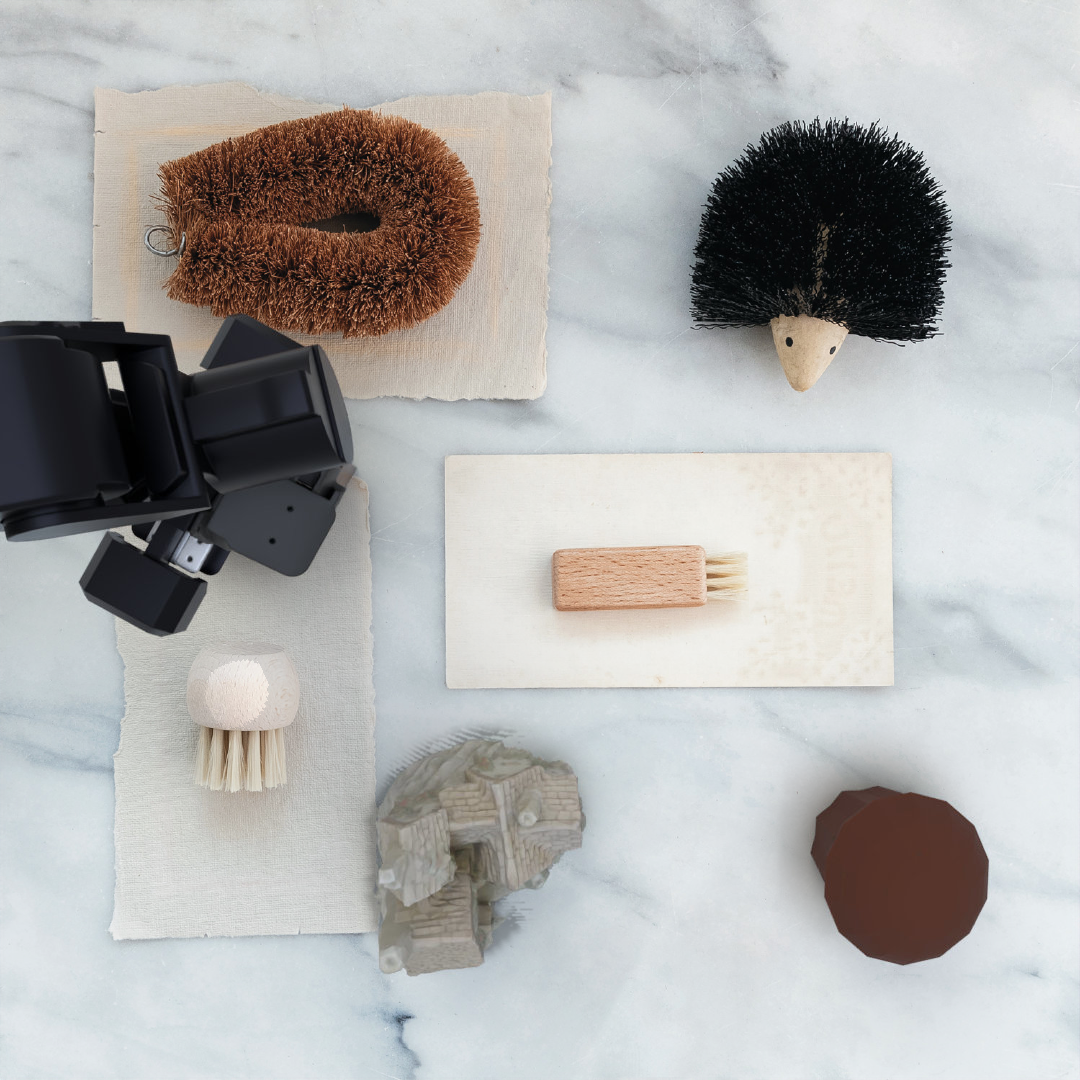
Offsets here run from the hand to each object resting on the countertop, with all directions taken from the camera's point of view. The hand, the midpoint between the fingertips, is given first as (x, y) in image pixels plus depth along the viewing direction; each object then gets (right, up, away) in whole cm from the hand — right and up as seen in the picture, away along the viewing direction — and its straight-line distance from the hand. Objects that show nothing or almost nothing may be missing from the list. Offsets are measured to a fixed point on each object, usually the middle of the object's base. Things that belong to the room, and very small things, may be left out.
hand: (252, 486), depth 58 cm
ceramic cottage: (+15, -27, +6) cm, 31 cm away
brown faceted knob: (+45, -27, +6) cm, 52 cm away
